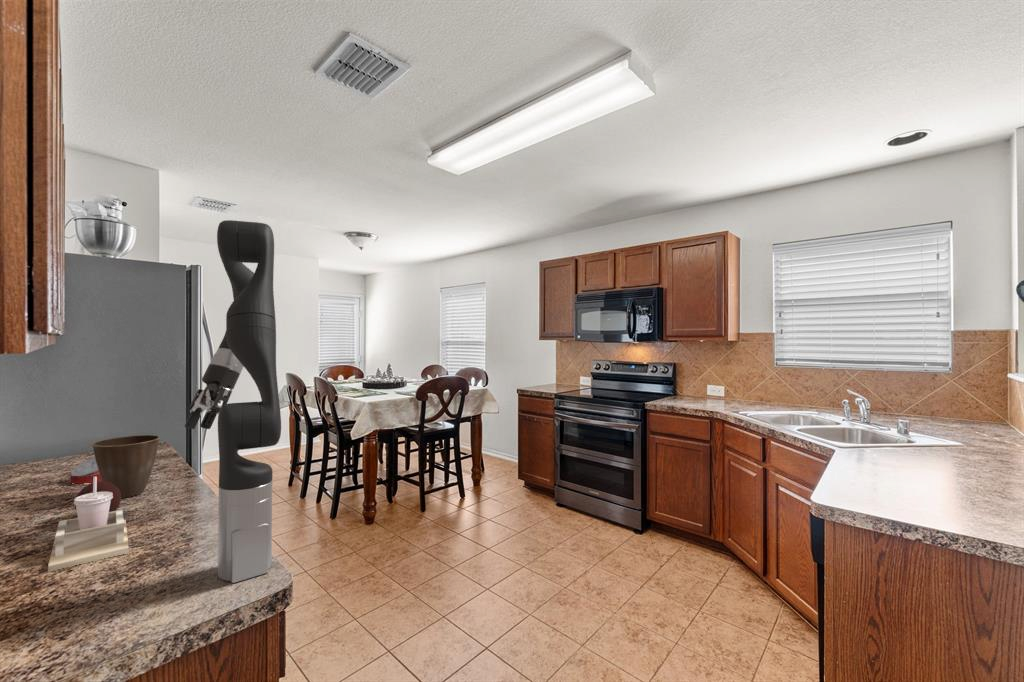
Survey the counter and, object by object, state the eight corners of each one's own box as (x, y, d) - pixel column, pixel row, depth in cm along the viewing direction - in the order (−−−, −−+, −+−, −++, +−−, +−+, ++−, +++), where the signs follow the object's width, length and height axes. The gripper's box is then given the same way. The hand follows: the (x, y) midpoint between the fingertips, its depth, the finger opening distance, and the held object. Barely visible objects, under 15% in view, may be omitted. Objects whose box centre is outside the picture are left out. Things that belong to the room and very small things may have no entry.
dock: (128, 553, 96) (128, 528, 96) (48, 572, 88) (48, 545, 88) (125, 524, 111) (125, 503, 111) (56, 538, 103) (56, 515, 103)
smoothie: (78, 548, 95) (79, 482, 95) (68, 541, 99) (69, 477, 99) (116, 538, 101) (117, 475, 101) (106, 531, 104) (107, 470, 104)
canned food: (108, 494, 146) (110, 470, 143) (65, 497, 140) (66, 472, 137) (115, 470, 154) (117, 447, 151) (75, 472, 149) (76, 448, 145)
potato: (72, 530, 108) (73, 491, 108) (76, 515, 117) (76, 479, 117) (120, 520, 113) (121, 484, 113) (120, 507, 122) (121, 473, 122)
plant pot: (80, 506, 123) (80, 447, 123) (108, 489, 137) (109, 436, 137) (146, 500, 128) (146, 444, 128) (167, 484, 142) (167, 433, 142)
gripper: (198, 365, 121) (168, 423, 114) (224, 360, 113) (194, 423, 106) (225, 376, 126) (199, 432, 119) (252, 372, 118) (225, 432, 111)
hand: (196, 428), depth 113 cm, fingers open, 8 cm apart
